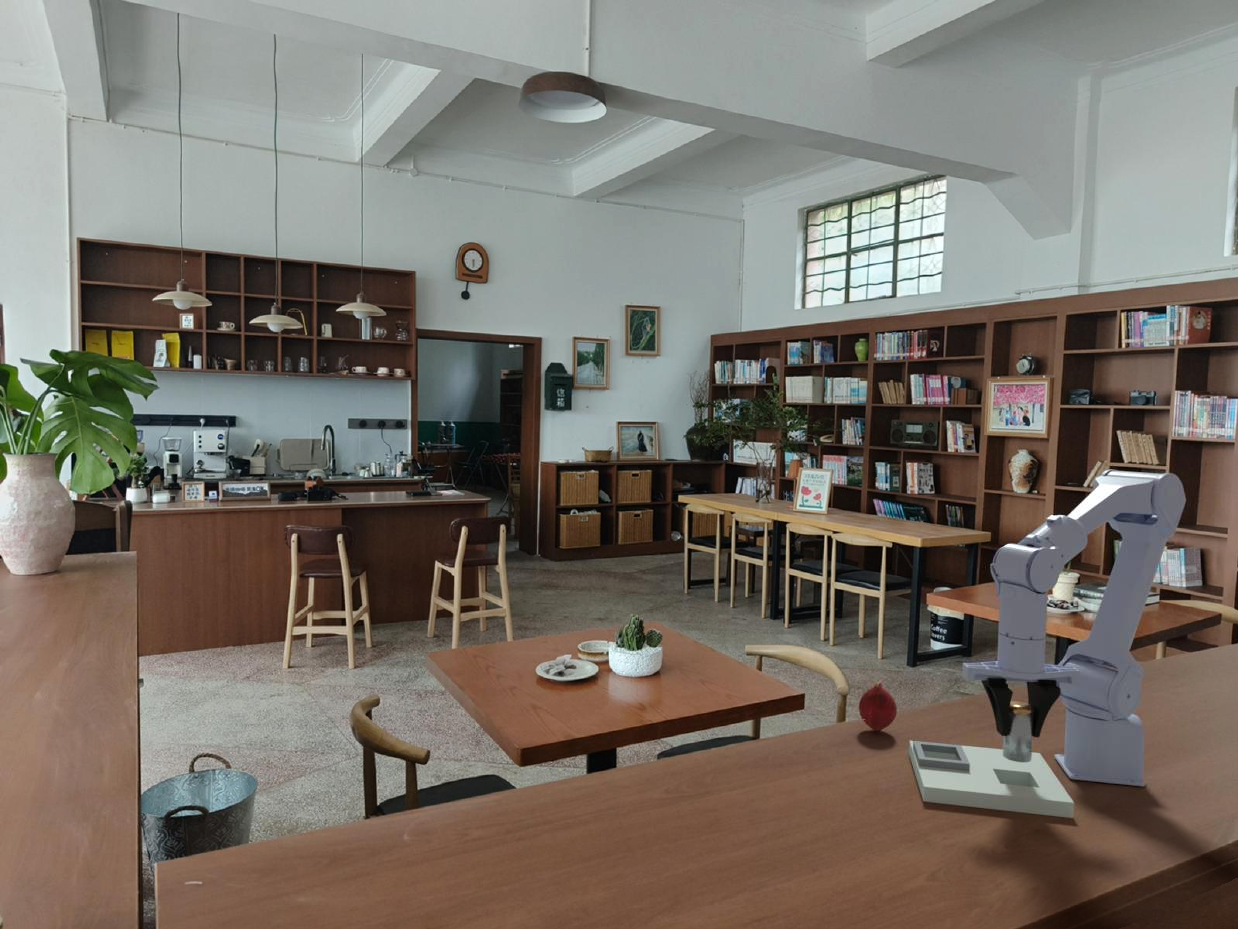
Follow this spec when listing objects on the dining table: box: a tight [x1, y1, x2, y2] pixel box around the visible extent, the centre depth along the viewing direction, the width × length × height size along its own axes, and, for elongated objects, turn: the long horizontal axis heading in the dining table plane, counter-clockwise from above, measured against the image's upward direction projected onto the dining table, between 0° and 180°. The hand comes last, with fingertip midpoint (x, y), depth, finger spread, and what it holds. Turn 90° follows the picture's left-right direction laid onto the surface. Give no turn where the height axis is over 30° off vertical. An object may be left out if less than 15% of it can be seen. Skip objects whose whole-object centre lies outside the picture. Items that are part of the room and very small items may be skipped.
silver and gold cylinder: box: [1002, 700, 1034, 762], centre depth 111 cm, size 4×4×7 cm
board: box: [908, 740, 1075, 819], centre depth 114 cm, size 18×16×3 cm
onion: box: [858, 681, 898, 732], centre depth 133 cm, size 6×6×8 cm
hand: (1017, 734), depth 111 cm, fingers closed on silver and gold cylinder, 3 cm apart
